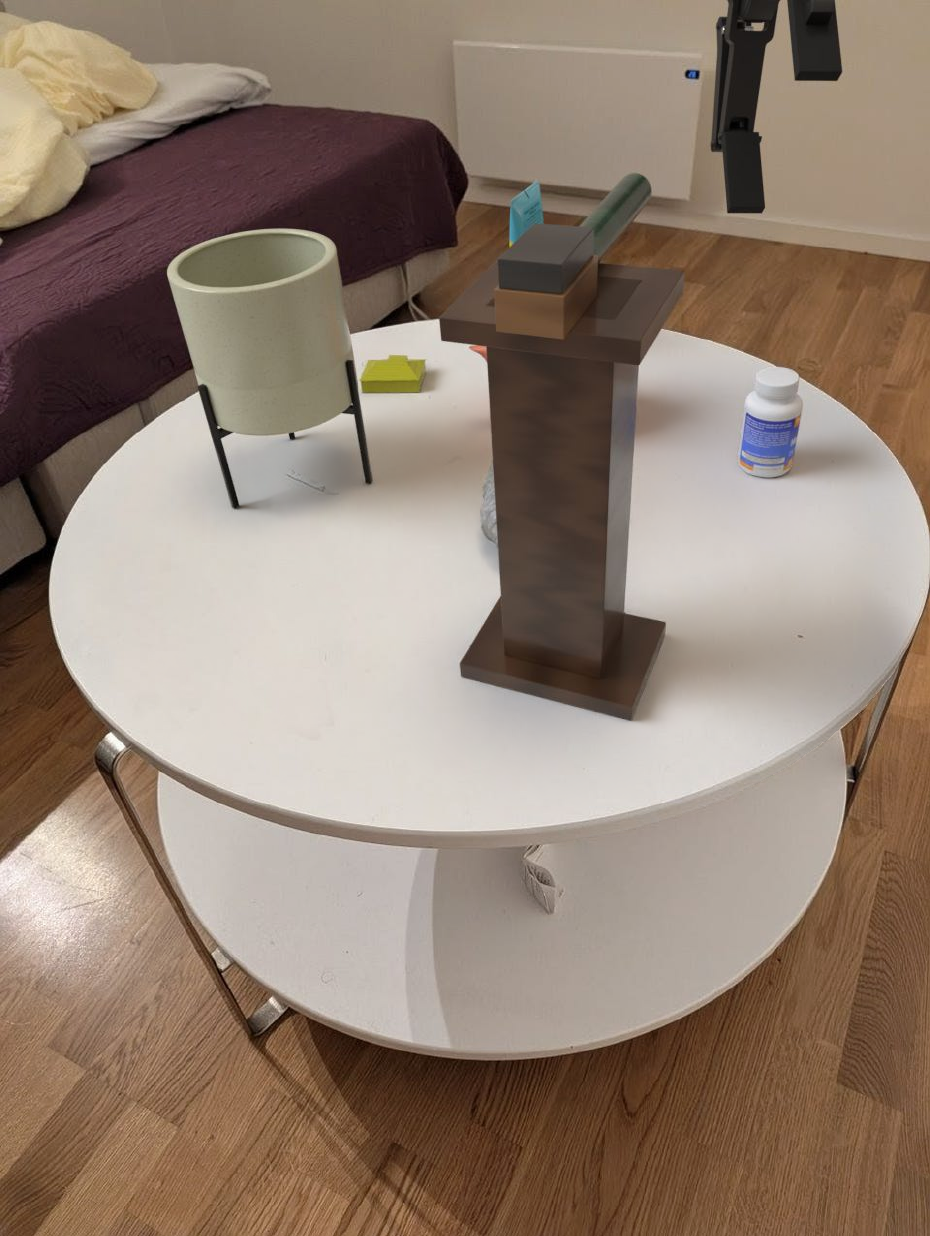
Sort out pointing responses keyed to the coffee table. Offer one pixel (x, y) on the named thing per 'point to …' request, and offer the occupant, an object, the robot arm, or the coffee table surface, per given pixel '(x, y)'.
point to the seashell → (489, 508)
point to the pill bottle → (770, 423)
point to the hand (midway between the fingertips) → (778, 151)
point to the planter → (267, 335)
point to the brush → (562, 265)
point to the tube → (525, 211)
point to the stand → (566, 492)
